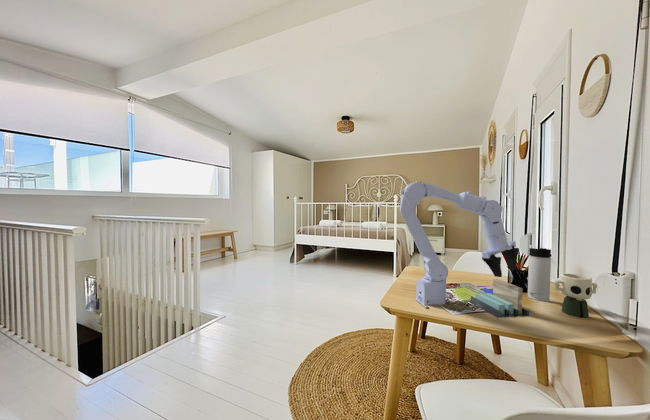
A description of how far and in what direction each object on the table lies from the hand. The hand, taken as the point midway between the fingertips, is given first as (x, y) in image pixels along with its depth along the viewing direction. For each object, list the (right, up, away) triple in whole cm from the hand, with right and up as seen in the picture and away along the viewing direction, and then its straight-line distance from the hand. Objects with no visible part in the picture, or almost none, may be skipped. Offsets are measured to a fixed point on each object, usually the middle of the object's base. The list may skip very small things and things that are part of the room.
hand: (505, 272), depth 87 cm
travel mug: (+17, -12, +7) cm, 23 cm away
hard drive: (+5, -13, +15) cm, 20 cm away
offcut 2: (-4, -11, -1) cm, 12 cm away
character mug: (+18, -13, -6) cm, 23 cm away
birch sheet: (0, -11, -1) cm, 11 cm away
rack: (-4, -12, -1) cm, 13 cm away
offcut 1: (-7, -11, -2) cm, 13 cm away
